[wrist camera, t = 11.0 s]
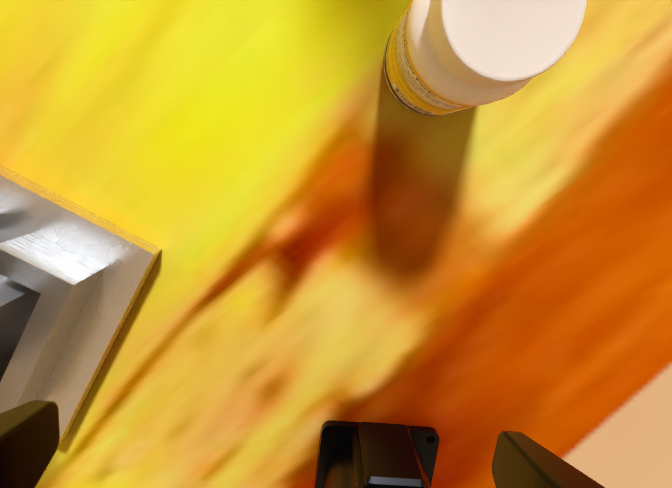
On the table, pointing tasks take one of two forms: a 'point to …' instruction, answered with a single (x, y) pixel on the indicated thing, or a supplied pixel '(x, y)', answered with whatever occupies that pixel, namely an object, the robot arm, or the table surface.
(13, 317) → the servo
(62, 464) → the table surface
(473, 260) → the table surface
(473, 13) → the supplement bottle
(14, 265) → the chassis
